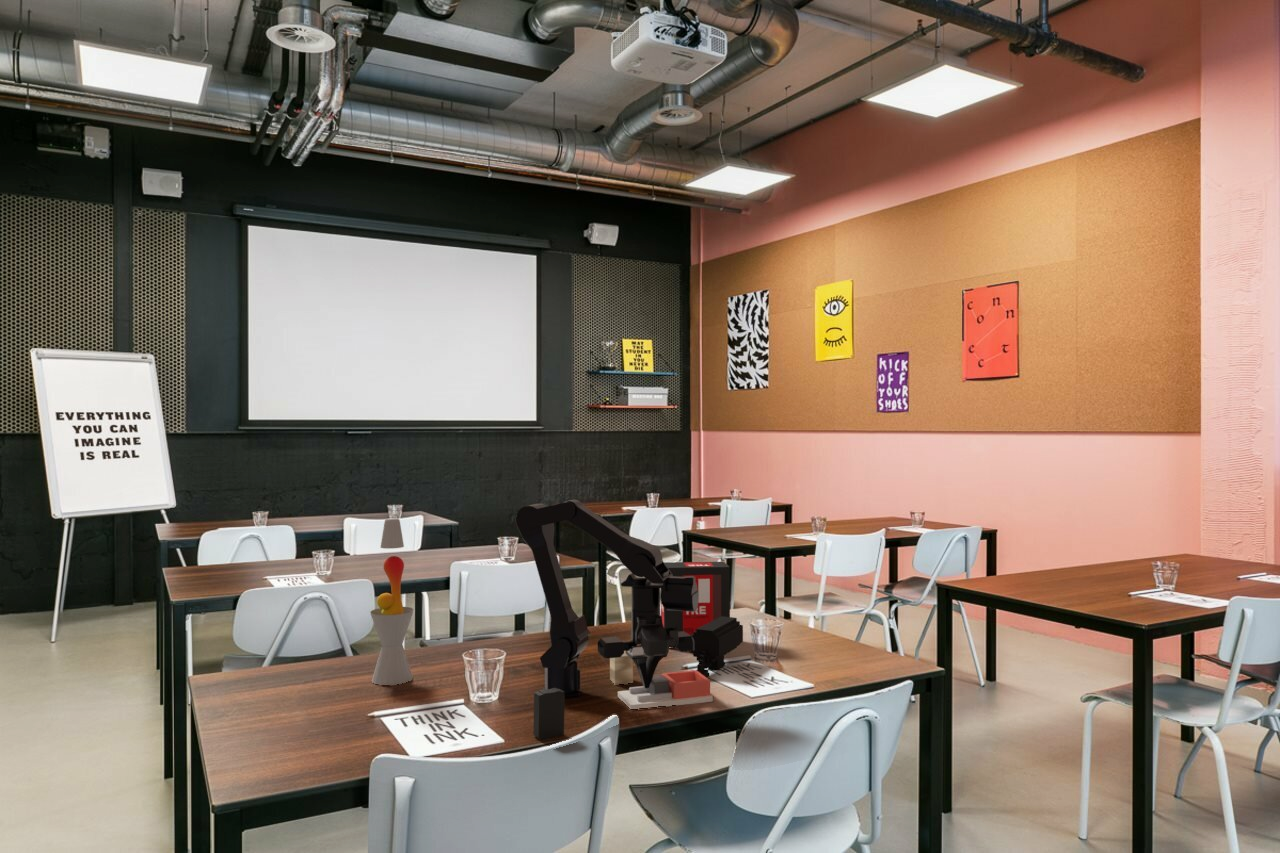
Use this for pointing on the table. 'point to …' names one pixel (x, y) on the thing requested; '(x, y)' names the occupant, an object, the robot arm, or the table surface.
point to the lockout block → (621, 670)
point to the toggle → (658, 685)
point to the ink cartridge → (549, 713)
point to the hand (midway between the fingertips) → (646, 687)
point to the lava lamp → (392, 615)
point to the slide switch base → (671, 691)
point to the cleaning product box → (701, 595)
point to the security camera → (716, 643)
